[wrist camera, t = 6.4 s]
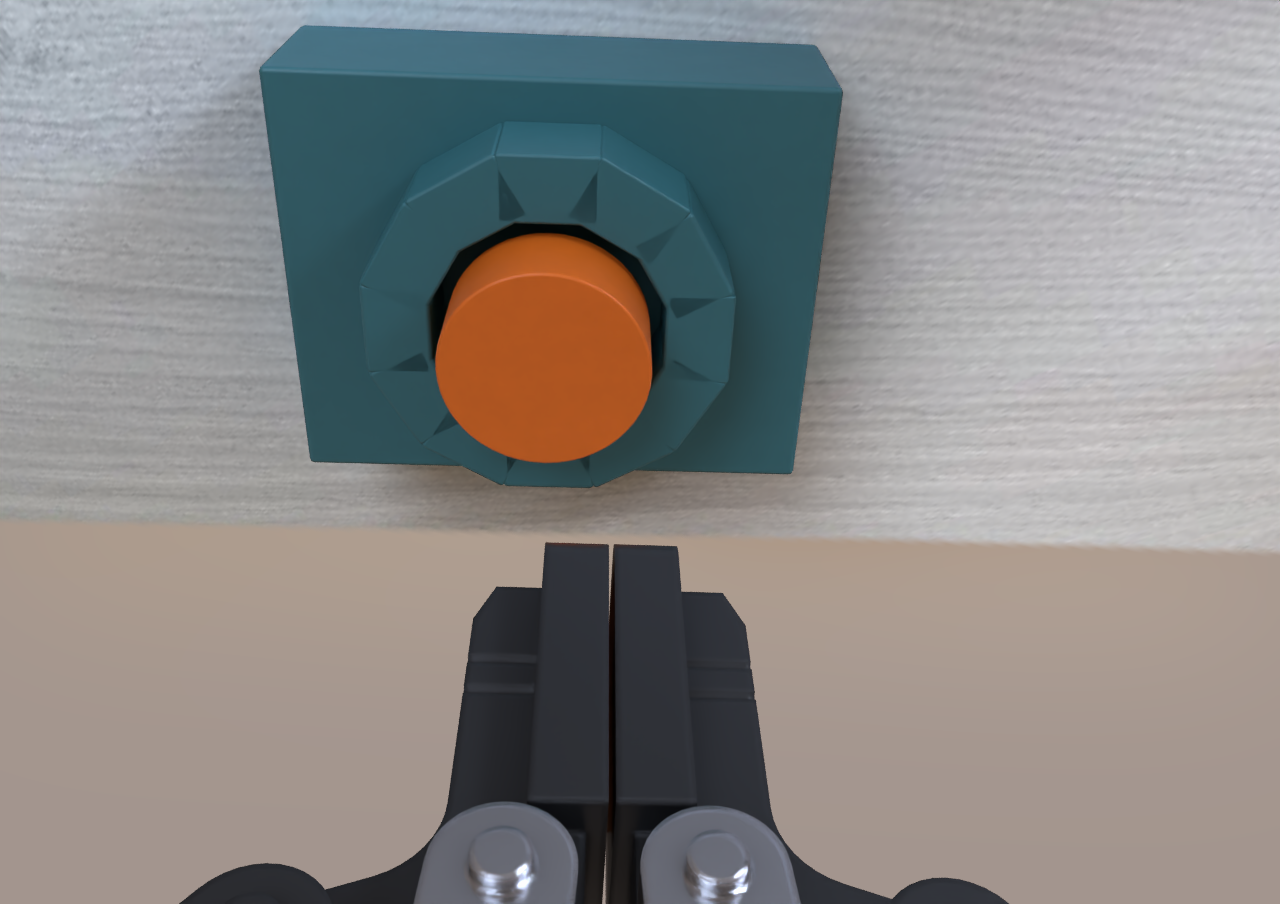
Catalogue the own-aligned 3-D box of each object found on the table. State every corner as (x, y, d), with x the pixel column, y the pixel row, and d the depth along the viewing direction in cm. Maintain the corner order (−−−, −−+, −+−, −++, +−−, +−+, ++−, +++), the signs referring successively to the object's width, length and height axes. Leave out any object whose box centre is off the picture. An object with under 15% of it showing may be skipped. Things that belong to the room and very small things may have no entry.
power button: (452, 410, 22) (440, 462, 20) (443, 227, 20) (428, 269, 18) (645, 416, 22) (647, 467, 20) (654, 234, 20) (657, 276, 18)
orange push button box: (340, 387, 27) (288, 514, 22) (300, 24, 22) (226, 96, 18) (775, 400, 27) (805, 527, 23) (817, 43, 23) (863, 119, 19)
